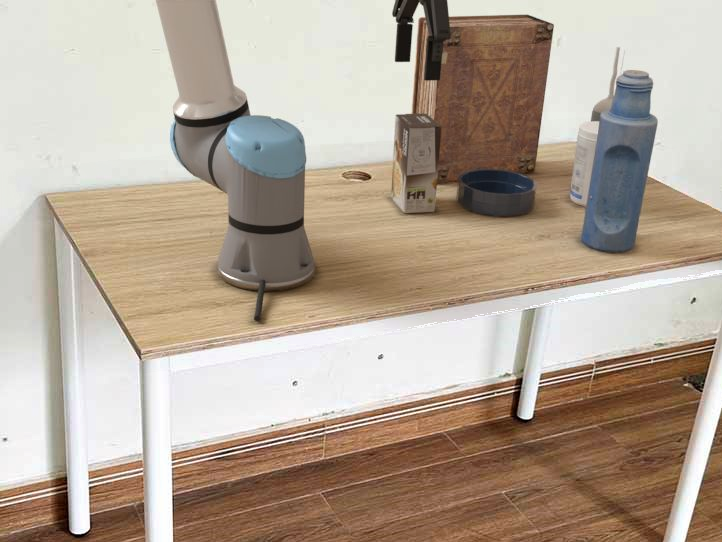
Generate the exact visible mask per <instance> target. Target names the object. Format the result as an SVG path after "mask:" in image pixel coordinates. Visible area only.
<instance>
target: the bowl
mask: <svg viewBox="0 0 722 542" xmlns="http://www.w3.org/2000/svg"><path fill="white" fill-rule="evenodd" d="M537 187H538V184H537V183H536V180H534V179H533V178H531V177H530V176H527V175H524V174H520V173H516V172H512V171H506V170H499V169H477V170H471V171H467V172H464V173H462V174H461V175H460V176H459V177H458V181H457V185H456V197H455V199H456V202H457V204H458V205H459V206H461V207H462V208H463V209H466V210H468V211H470V212H473V213H476V214H478V215H482V216H483V215H484V216H490V217H499V218H500V217H515V216H520V215H524V214H527V213H529V212H531V211H532V210H533V209H534V207H535V202H536V195H537V189H538V188H537Z"/></svg>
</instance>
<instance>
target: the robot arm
mask: <svg viewBox="0 0 722 542" xmlns="http://www.w3.org/2000/svg"><path fill="white" fill-rule="evenodd" d="M155 3H156V8H157V11H158V14H159V19H160V23H161V24H160V25H161V27H162V31H163V36H164V39H165V43H166V47H167V51H168V55H169V59H170V63H171V67H172V71H173V76H174V78H175V84H176V87H177V91H178V98H177V99H176V100H175V101H174V103H173V105H172V112H173V116H174V117H173V124H171V125H170V129H169V143H170V148H171V150H172V153H173V155H174V157H175V159H176V160H177V161H178V163H179V164H180V165H181V166H182V167H183V168H184V169H185V171H187V172H189V174H191V175H192V176H193V177H195V178H197V179H200V180H201V181H203V182H205V183H207V184H209V185H211V186H212V187H215V189H218V190H219V191H222V193H225V194H227V212H228V213H227V214H228V215H227V217H228V220H227V221H228V223H227V224H228V225H227V229H226V232H225V235H224V238H223V240H222V241H223V242H222V244H221V248H220V251H219V254H218V258H217V274H218V276H219V277H220V279H222V280H223V281H224V282H225V283H227V284H229V285H231V286H234V287H237V288H240V289H243V290H244V289H245V290H250V291H257V296H256V297H257V298H256V303H255V311H254V314H253V315H254V316H253V321H255V322H260V320H261V316H262V310H263V304H264V296H265V292H276V291H277V292H278V291H279V292H280V291H286V290H291V289H295V288H298V287H301V286H304V285H306V284H308V283H309V282H310V281H311V280H312V279H313V278H314V277H315V272H316V270H315V268H316V267H315V266H316V265H315V257H314V255H313V251H312V248H311V245H310V242H309V239H308V235H307V232H306V229H305V194H306V192H305V190H306V189H305V188H306V187H305V185H306V184H305V183H306V163H307V153H306V152H307V151H306V142H305V137H304V135H303V133H302V132H301V130H300V129H299V128H298V127H296V126H295V125H294V124H292V123H290V122H289V121H287V120H284V119H281V118H272V116H268V115H261V114H260V115H259V114H255V115H254V114H253V115H251V111H250V106H249V102H248V96H247V94H246V92H245V91H244V90H243V89H241V88H240V87H238V86H236V85H235V84H234V83H235V82H234V79H233V74H232V69H231V64H230V59H229V55H228V49H227V47H226V41H225V36H224V32H223V27H222V21H221V18H220V13H219V9H218V4H217V0H155ZM419 4H420V5H421V6H422V9H423V12H424V13H423V14H424V17H425V18H426V23H427V28H428V33H429V36H428V37H427V39H426V41H427V46H426V58H425V70H424V80H425V81H429V80H440V74H441V62H442V51H443V41H445V40H449V39H450V37H451V34H450V24H449V17H450V15H449V5H448V4H449V3H448V0H394V4H393V9H392V12H391V14H392V17H393V18H395V22H396V35H395V50H394V51H395V52H394V62H395V63H410V62H411V56H412V55H411V54H412V53H411V52H412V42H413V41H412V40H413V28H414V26H413V23H415V20H414V15H415V13H416V11H417V8H418V7H419Z"/></svg>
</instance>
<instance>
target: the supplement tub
mask: <svg viewBox="0 0 722 542" xmlns="http://www.w3.org/2000/svg"><path fill="white" fill-rule="evenodd" d="M598 129H599V121H591V120H590V121H585V122H582V123H580V125H579V127H578V132H577V136H576V144H575V151H574V158H573V159H574V160H573V167H572V175H571V176H572V177H571V184H570V193H569V198H570V200H571V201H572V202H573V203H574V204H576V205H578V206H581V207H584V208H586V204H587V198H588V192H589V186H590V180H591V174H592V167H593V161H594V155H595V148H596V143H597V136H598Z"/></svg>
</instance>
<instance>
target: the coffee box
mask: <svg viewBox="0 0 722 542" xmlns="http://www.w3.org/2000/svg"><path fill="white" fill-rule="evenodd" d="M441 128H442V127H441V126H440V125H439V124H438V123H437V122H435V121H434V120H433V119H432V118H431V117H430V116H428V115H427V114H412V113H404V114H399V113H398V114H395V119H394V137H393V155H392V177H391V192H390V193H391V194H390V199H391V200H392V201H393V202H394V203H395V205H396V206H397V207H398V208H399V209H400V210H401V211H402V212H403V213H404V214H417V213H435V211H436V203H437V189H438V183H437V179H438V166H439V154H440V141H441Z"/></svg>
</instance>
